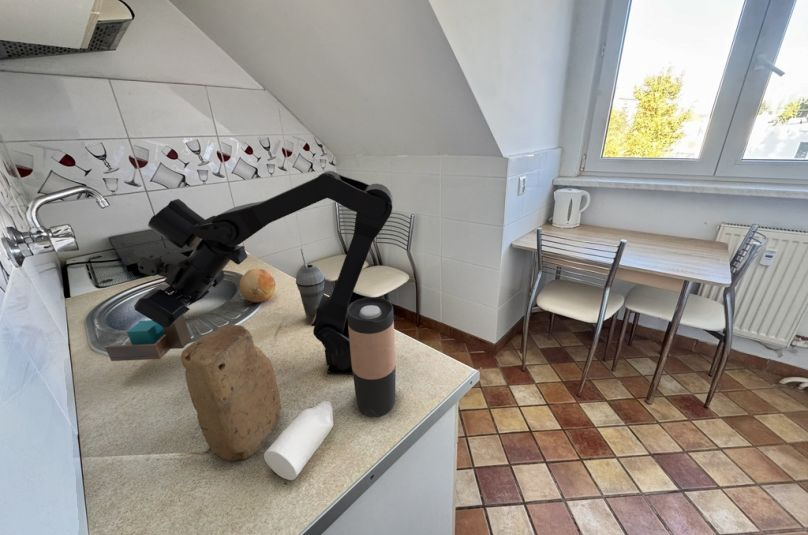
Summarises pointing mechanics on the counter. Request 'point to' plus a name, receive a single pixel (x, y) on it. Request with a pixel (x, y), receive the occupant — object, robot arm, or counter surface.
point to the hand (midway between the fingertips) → (164, 316)
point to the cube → (145, 332)
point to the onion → (257, 285)
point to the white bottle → (300, 441)
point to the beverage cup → (310, 288)
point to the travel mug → (372, 354)
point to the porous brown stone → (232, 391)
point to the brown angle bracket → (171, 339)
